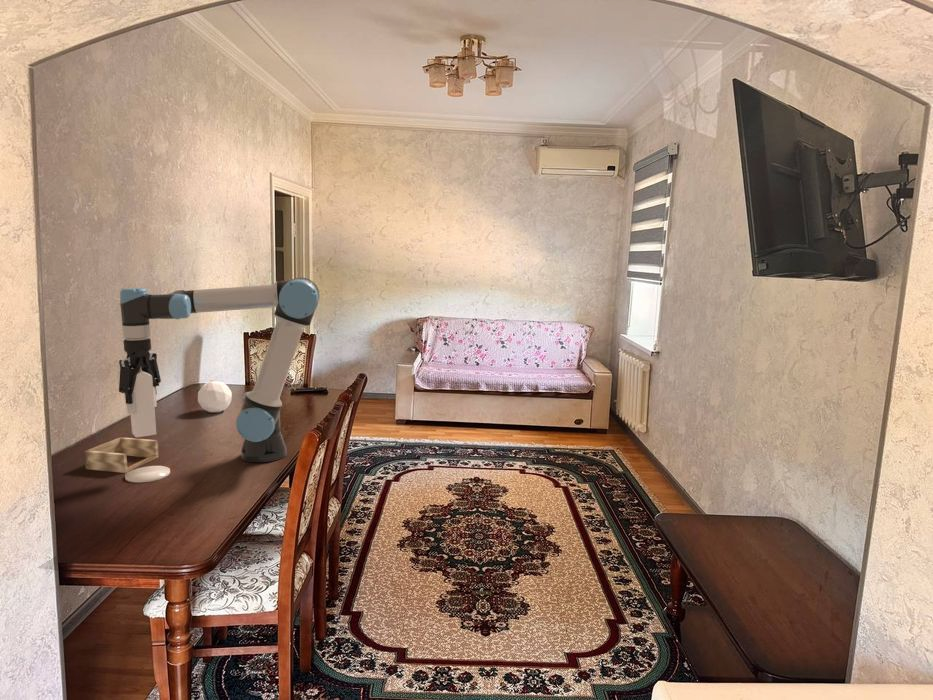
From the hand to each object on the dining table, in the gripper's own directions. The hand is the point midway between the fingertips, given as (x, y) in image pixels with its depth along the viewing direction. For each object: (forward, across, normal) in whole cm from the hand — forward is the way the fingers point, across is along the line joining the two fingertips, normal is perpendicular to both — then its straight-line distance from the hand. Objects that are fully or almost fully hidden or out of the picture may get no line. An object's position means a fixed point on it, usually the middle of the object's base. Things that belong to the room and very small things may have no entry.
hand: (142, 409), depth 205 cm
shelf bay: (+22, -8, -16) cm, 28 cm away
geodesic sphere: (+22, -74, -25) cm, 81 cm away
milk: (+8, 0, 0) cm, 8 cm away
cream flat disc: (+22, 0, 0) cm, 22 cm away
